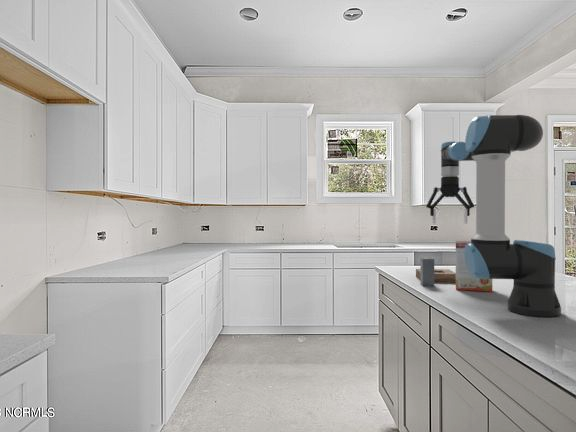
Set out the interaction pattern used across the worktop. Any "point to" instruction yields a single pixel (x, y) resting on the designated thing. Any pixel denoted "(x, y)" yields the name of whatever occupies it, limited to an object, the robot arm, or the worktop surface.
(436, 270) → the socket plate
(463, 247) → the cracker box
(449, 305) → the worktop surface
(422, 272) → the peg
